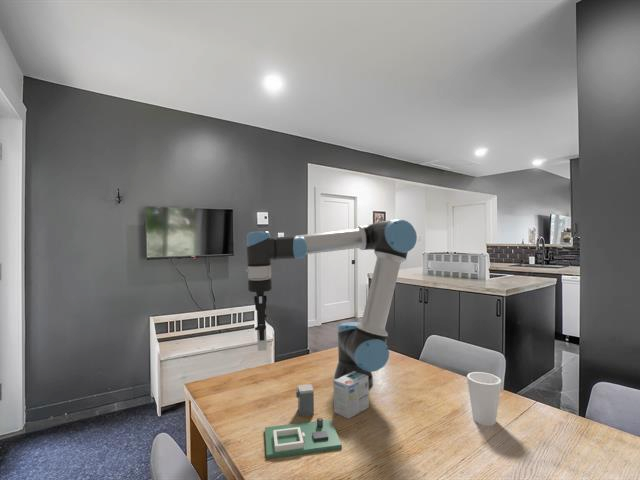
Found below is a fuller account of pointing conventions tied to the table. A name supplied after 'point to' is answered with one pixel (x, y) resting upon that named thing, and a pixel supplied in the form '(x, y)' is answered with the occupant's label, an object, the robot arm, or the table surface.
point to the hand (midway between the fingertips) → (262, 343)
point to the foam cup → (484, 396)
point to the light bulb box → (351, 394)
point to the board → (301, 438)
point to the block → (305, 399)
